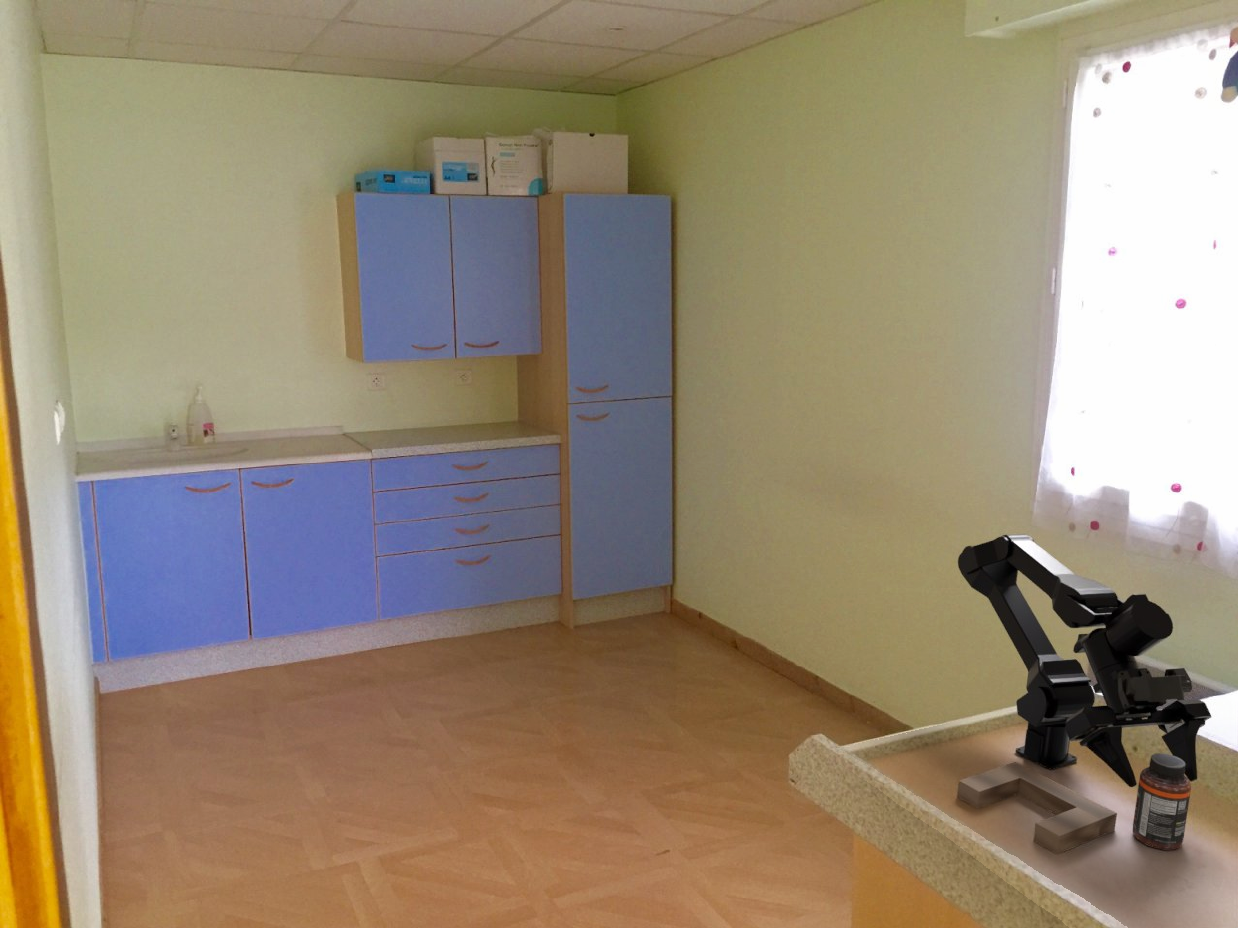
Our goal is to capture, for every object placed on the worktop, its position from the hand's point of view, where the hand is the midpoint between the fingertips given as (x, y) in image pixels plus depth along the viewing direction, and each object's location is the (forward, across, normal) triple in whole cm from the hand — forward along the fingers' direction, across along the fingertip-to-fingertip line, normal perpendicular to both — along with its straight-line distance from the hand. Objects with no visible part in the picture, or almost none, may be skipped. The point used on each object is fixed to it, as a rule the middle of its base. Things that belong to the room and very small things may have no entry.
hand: (1164, 783), depth 134 cm
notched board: (-1, -12, +12) cm, 17 cm away
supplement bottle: (+6, 0, +6) cm, 8 cm away
